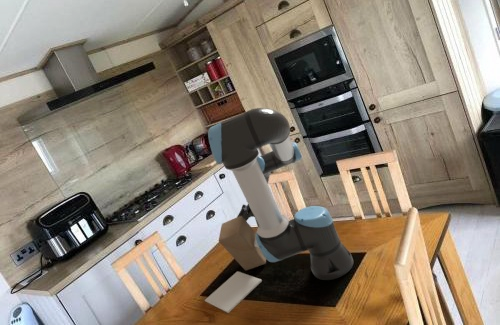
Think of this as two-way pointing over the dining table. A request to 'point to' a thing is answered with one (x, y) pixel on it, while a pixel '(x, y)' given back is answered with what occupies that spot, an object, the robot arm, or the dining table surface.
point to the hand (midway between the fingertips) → (246, 245)
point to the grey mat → (233, 291)
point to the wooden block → (241, 243)
